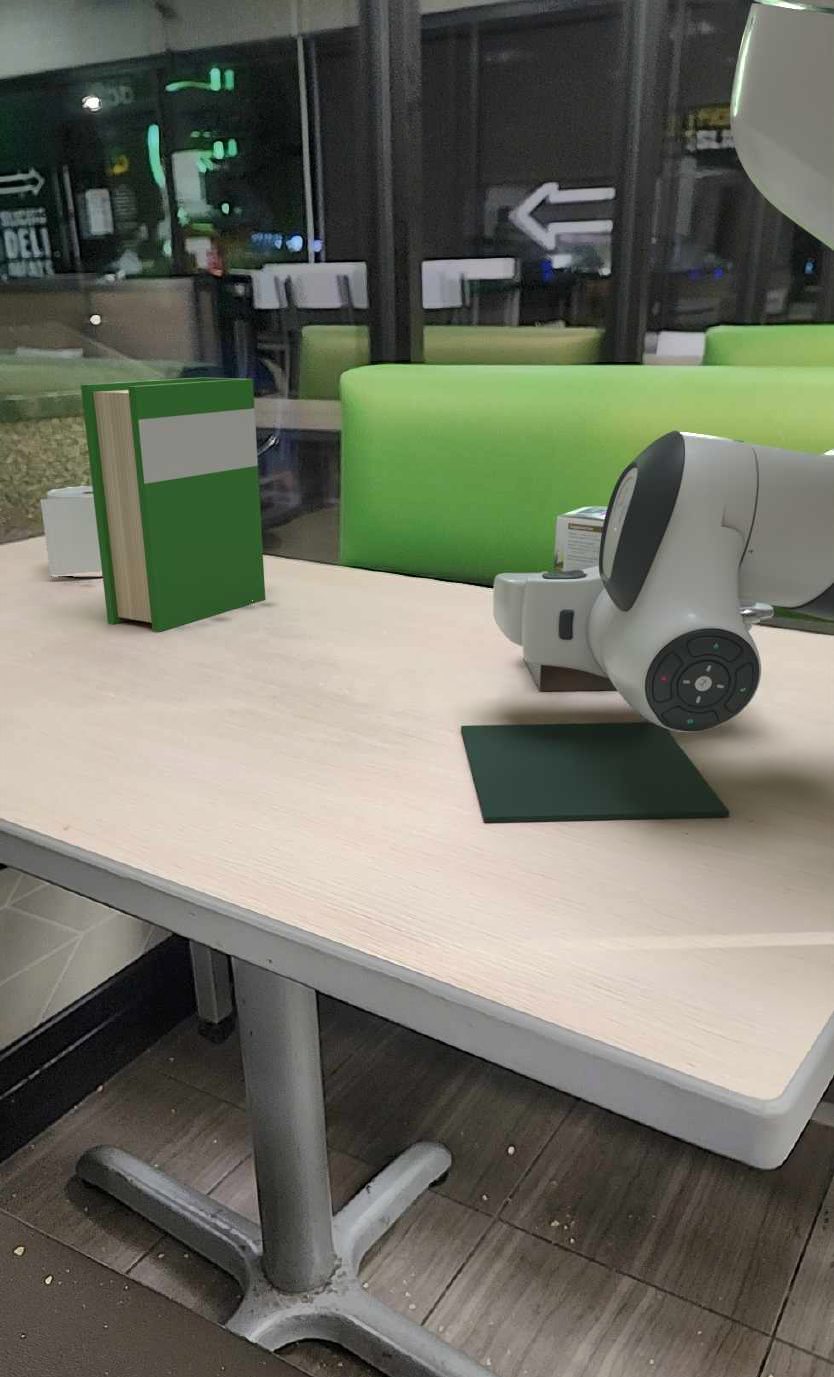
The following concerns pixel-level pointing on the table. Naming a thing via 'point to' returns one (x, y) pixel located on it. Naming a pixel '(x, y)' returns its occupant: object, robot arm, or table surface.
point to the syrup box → (578, 539)
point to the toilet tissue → (71, 531)
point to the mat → (585, 773)
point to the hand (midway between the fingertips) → (604, 580)
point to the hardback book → (175, 497)
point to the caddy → (567, 679)
